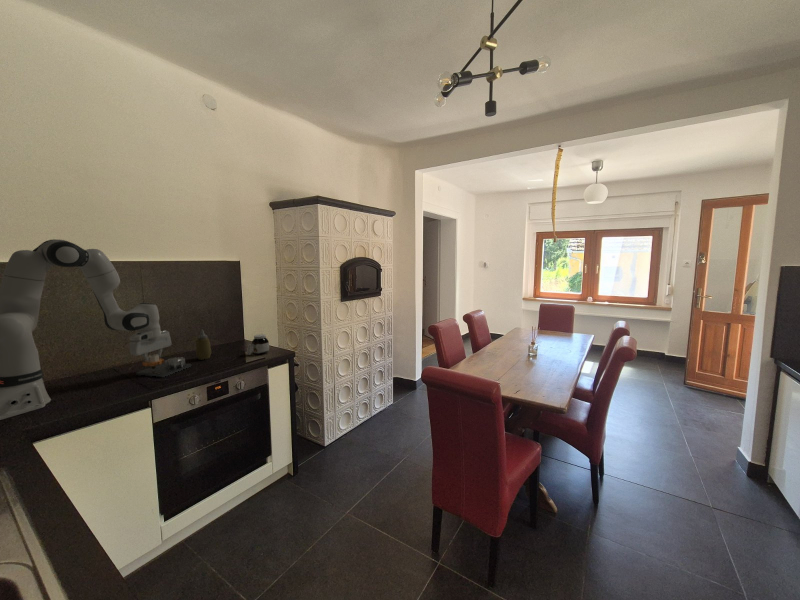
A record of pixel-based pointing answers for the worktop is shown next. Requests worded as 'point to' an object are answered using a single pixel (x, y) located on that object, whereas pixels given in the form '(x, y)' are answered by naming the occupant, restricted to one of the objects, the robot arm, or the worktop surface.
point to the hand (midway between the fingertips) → (153, 359)
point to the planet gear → (153, 360)
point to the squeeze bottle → (203, 346)
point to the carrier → (166, 368)
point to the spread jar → (258, 345)
